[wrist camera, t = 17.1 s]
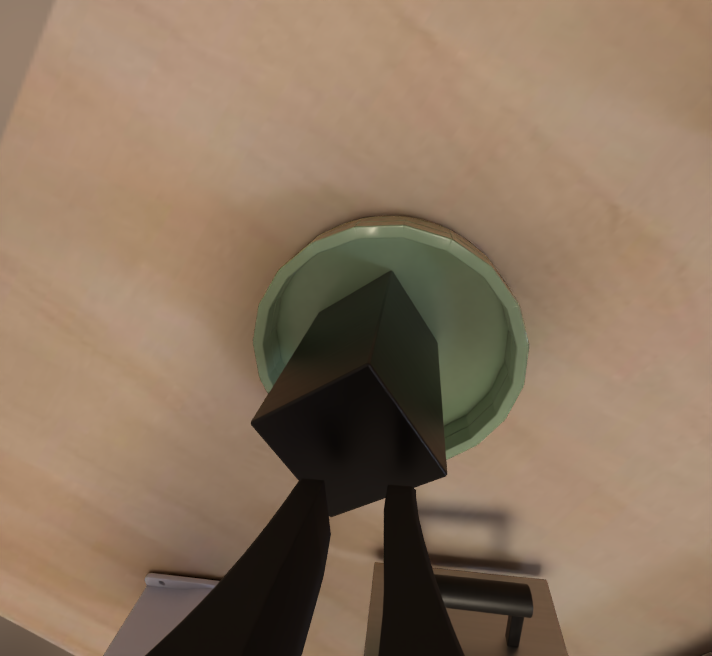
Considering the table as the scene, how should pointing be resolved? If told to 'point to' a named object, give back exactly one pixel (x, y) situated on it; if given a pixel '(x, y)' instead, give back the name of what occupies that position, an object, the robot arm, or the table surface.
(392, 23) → the table surface
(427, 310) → the dish
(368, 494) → the iron block
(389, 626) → the robot arm
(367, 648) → the drawer
